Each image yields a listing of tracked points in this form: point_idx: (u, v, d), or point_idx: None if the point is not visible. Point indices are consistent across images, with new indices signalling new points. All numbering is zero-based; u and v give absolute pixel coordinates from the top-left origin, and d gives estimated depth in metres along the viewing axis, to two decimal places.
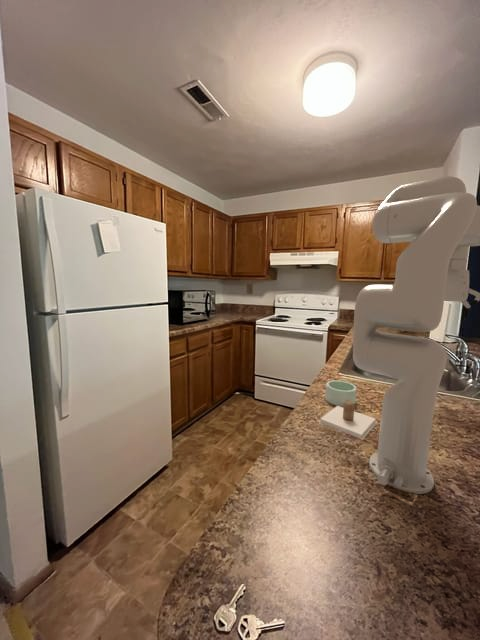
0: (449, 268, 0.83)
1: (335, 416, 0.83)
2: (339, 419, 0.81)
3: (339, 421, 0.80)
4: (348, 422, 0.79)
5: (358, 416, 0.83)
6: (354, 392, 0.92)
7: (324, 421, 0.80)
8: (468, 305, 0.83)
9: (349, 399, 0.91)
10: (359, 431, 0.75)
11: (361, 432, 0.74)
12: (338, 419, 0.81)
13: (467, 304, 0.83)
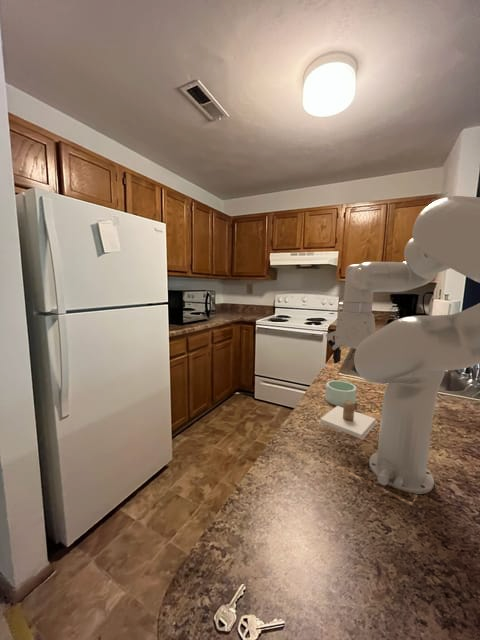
0: (351, 312, 0.74)
1: (335, 416, 0.83)
2: (339, 419, 0.81)
3: (339, 421, 0.80)
4: (348, 422, 0.79)
5: (358, 416, 0.83)
6: (354, 392, 0.92)
7: (324, 421, 0.80)
8: None
9: (349, 399, 0.91)
10: (359, 431, 0.75)
11: (361, 432, 0.74)
12: (338, 419, 0.81)
13: None
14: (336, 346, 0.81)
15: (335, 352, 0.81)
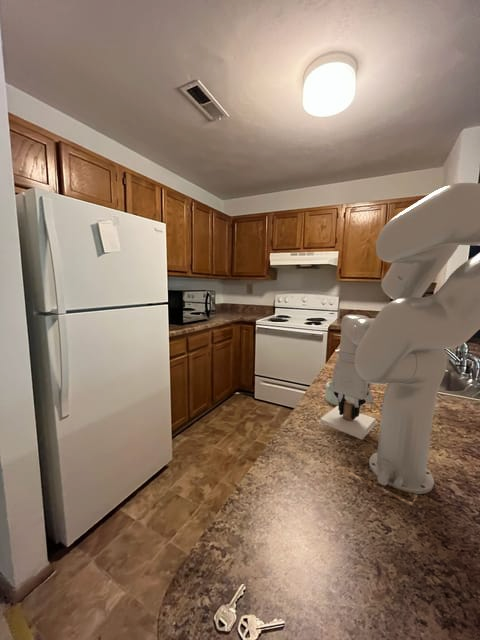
0: (347, 362, 0.76)
1: (335, 416, 0.83)
2: (339, 419, 0.81)
3: (339, 421, 0.80)
4: (348, 422, 0.79)
5: (358, 416, 0.83)
6: None
7: (324, 421, 0.80)
8: (357, 405, 0.78)
9: (349, 399, 0.91)
10: (359, 431, 0.75)
11: (361, 432, 0.74)
12: (338, 419, 0.81)
13: (357, 403, 0.78)
14: (340, 397, 0.81)
15: (341, 404, 0.81)
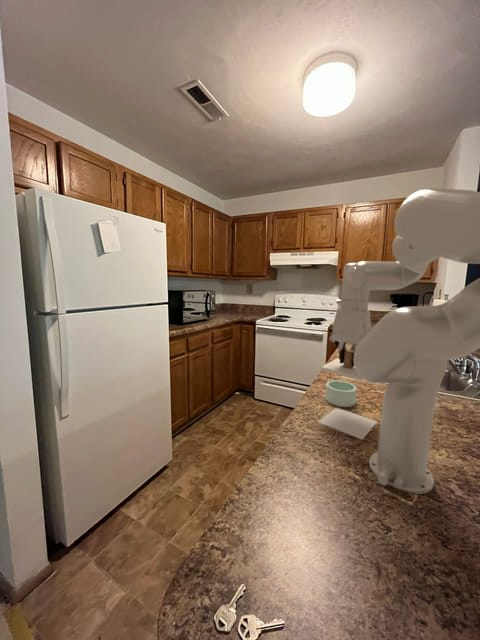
0: (348, 309, 0.77)
1: (335, 365, 0.85)
2: (339, 367, 0.83)
3: (340, 369, 0.81)
4: (348, 369, 0.81)
5: None
6: (354, 392, 0.92)
7: (325, 369, 0.82)
8: None
9: (349, 399, 0.91)
10: (359, 375, 0.77)
11: None
12: (339, 367, 0.83)
13: None
14: (341, 345, 0.83)
15: (341, 352, 0.83)
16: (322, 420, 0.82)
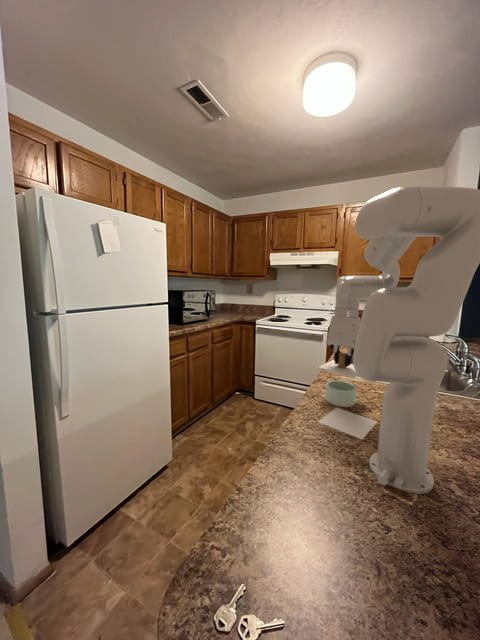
0: (341, 316, 0.89)
1: (331, 365, 0.96)
2: (334, 367, 0.94)
3: (334, 368, 0.93)
4: (342, 369, 0.93)
5: (351, 365, 0.96)
6: (354, 392, 0.92)
7: (321, 368, 0.94)
8: (349, 353, 0.91)
9: (349, 399, 0.91)
10: (351, 374, 0.88)
11: (353, 374, 0.88)
12: (334, 367, 0.94)
13: (349, 352, 0.91)
14: (335, 348, 0.94)
15: (336, 354, 0.94)
16: (322, 420, 0.82)
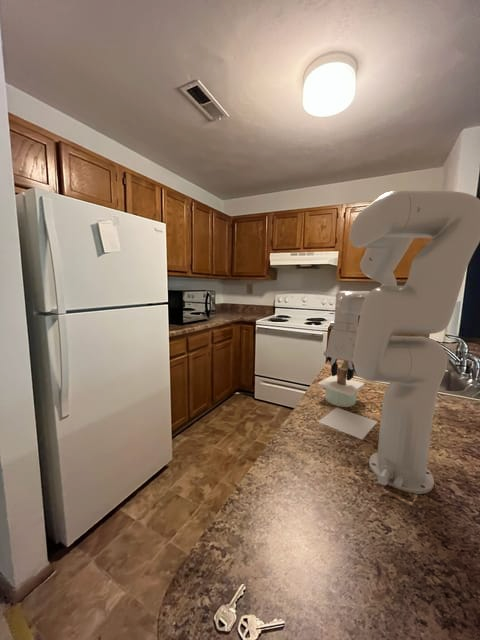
0: (340, 330, 0.90)
1: (330, 381, 0.97)
2: (333, 383, 0.95)
3: (334, 385, 0.93)
4: (341, 385, 0.93)
5: (350, 381, 0.97)
6: None
7: (321, 385, 0.94)
8: (351, 367, 0.91)
9: (349, 399, 0.91)
10: (350, 391, 0.88)
11: (352, 391, 0.88)
12: (333, 383, 0.95)
13: (351, 366, 0.91)
14: (333, 361, 0.95)
15: (333, 367, 0.95)
16: (322, 420, 0.82)
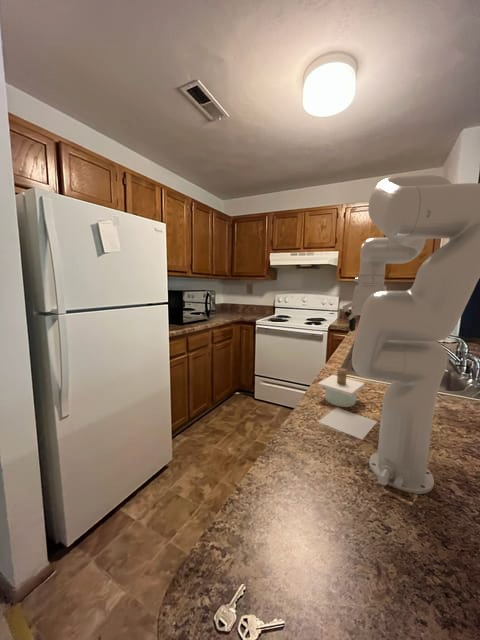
0: (367, 284, 0.85)
1: (330, 381, 0.97)
2: (333, 383, 0.95)
3: (334, 385, 0.93)
4: (341, 385, 0.93)
5: (350, 381, 0.97)
6: None
7: (321, 385, 0.94)
8: None
9: (349, 399, 0.91)
10: (350, 391, 0.88)
11: (352, 391, 0.88)
12: (333, 383, 0.95)
13: None
14: (352, 316, 0.91)
15: (351, 321, 0.92)
16: (322, 420, 0.82)
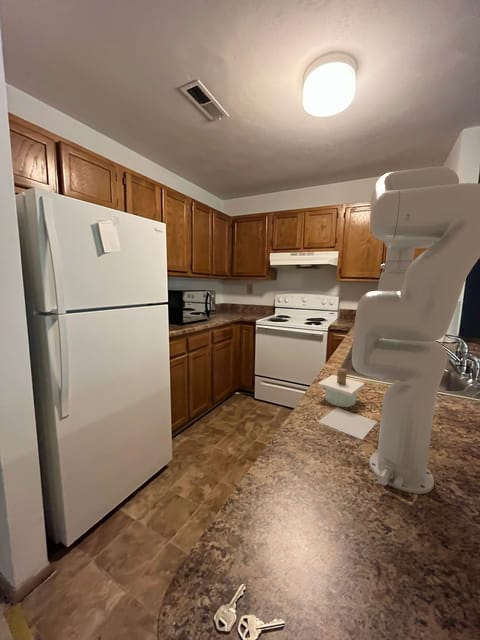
0: (394, 270, 0.82)
1: (330, 381, 0.97)
2: (333, 383, 0.95)
3: (334, 385, 0.93)
4: (341, 385, 0.93)
5: (350, 381, 0.97)
6: None
7: (321, 385, 0.94)
8: None
9: (349, 399, 0.91)
10: (350, 391, 0.88)
11: (352, 391, 0.88)
12: (333, 383, 0.95)
13: None
14: None
15: None
16: (322, 420, 0.82)
